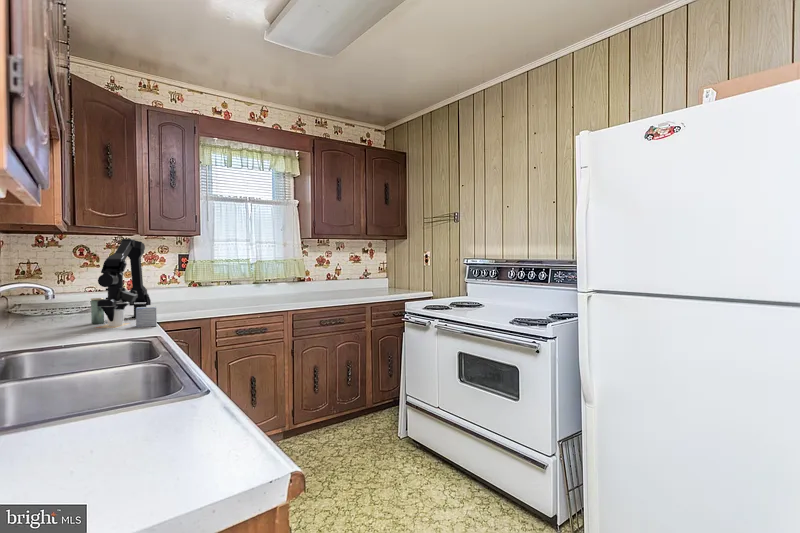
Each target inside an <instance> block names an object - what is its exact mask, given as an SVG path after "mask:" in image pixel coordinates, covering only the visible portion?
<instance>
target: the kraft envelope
mask: <svg viewBox="0 0 800 533" xmlns="http://www.w3.org/2000/svg"><path fill="white" fill-rule="evenodd" d="M129 324H131V322H123V325H121V326H108V323H106V324H102V325H100V326H96V327H95V329H112V328H113V329H117V328H120V327H123V326H127V325H129Z"/></svg>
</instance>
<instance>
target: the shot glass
mask: <svg viewBox="0 0 800 533" xmlns="http://www.w3.org/2000/svg"><path fill="white" fill-rule="evenodd" d="M125 311H126V309H115V311H114V319H113V321H110V320H109V319H108V317H107V316H106V318H107V324H108V326H120V327H122V326H121V325H123V323H125ZM123 326H124V325H123Z"/></svg>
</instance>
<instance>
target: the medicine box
mask: <svg viewBox="0 0 800 533" xmlns="http://www.w3.org/2000/svg"><path fill="white" fill-rule="evenodd" d="M157 311H158V310H157V306H146V307H137V308H136V318H135V328H140V327H141V328H142V326H144V327H151V326H152V327H157V325H158V324H157V323H158V322H157V320H158V318H157V317H158V316H157Z"/></svg>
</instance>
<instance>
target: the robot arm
mask: <svg viewBox="0 0 800 533" xmlns="http://www.w3.org/2000/svg"><path fill="white" fill-rule="evenodd" d="M145 249H146V246H145V243H143V242H142V241H140V240H139V241H138V240H135V239H133V238H122V239H121V241H120V244H119V245H118V247H117V249H116V250H115V252H114V253H113V254H110V255H109V256H107V258H105V260H104V262H103V264H102V267H101V271H100V273H101V275H99V277H98V279H97V283H98V285H99V286H100V287H102V288H105V291H106V292H107V296H106V297H105V298H104V299H102V300H99V301H98V302H97V306H101V307H100V308H102V309H103V311H104V315H106V318H107V317H108V319H109V320H110V321H113V319H114V311H115V309H124V310H126V307H127V306H128V305H129V307H132V306H133V316H131V317H133V318H134V317H135V318H134V319H136V308H137V307H147V306H151V303H152V300H151V298H150V295H149V293H148V289H147V288H146V287H145V285H144V284H143V283H144V282H143V271H142V270H143V268H142V257H143V255H144V253H145ZM127 258H128V259H129V260H130V261H129V264H130V273H131V274H130V275H131V284H132V285H131V286H132V287H131V289H130V290H129V291H127V290H126V287H124V284H123V283H124V280H123V279H124V274H125V273H124V272H125V270H126V267H127V262H126V259H127ZM108 319H107V320H108Z"/></svg>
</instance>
